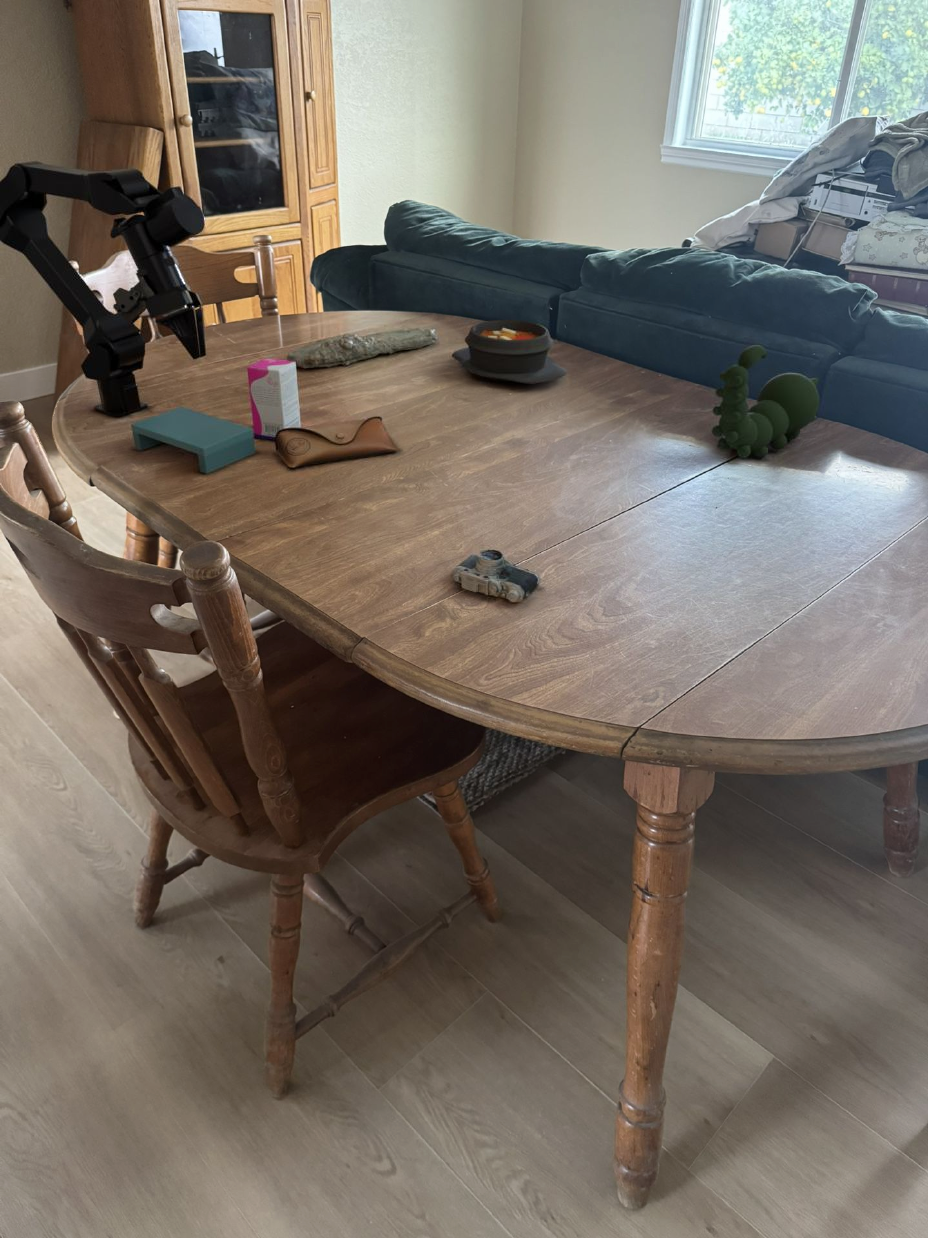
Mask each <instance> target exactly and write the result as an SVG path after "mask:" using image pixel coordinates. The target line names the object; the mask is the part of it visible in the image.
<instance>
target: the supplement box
mask: <svg viewBox="0 0 928 1238" xmlns="http://www.w3.org/2000/svg"><path fill="white" fill-rule="evenodd" d="M246 369H247V370H246V371H247V380H248V381H247V382H248V390H249V401H250V407H251V408H250V409H251V417H252V418H251V419H252V427H253V428H252V429H253V436H254V438H259V439H265V440H272V441H275V436H276V433H277V432H278V431H279V430H281V429H284V428H293V427H296V428H297V427H298V428H302V426H301V425H302V424H301V423H302V422H301V413H300V404H299V403H300V401H299V400H300V399H299V388H298V377H297V375H298V374H297V367H296V362H293V361H287V360H283V359H275V358H266V357H264V358H261V359H260V360H258V361H256V362H255V363H253V364H251V365H249V366H247V368H246Z"/></svg>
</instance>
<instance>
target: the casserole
mask: <svg viewBox="0 0 928 1238" xmlns="http://www.w3.org/2000/svg"><path fill="white" fill-rule="evenodd" d="M464 342H465V344H466V345H467V346H466V347H463V348H461V349H457V350H455V351H454V352H453V353H452V354H451V357H452V358H453V359H454V360H456V361H457V362H458V363H459V364H460V366H461V367H462V369H464V370H466V371H467V372H469V373H471V374H474V375H477V376H480V377H483V378H485V379H489V380H493V381H499V382H515V383H521V384H526V385H527V384H528V385H532V384H533V385H534V384H542V383H547V382H552V381H556V380H558V379H561V378H562V377H565V376H566V375H567V374H568V372H567V370H566V369H565V368H564V367H562V366H560V365H559V364H558V363H556V362H555V361H554V360H553V359H552V358H551V357H550V356H549V352H550V349H551V348H552V347H553V346H554V340H553V339H552V338H551V335H550V332H549V329H548V328H547V327H545V326H543V325H541V324H539V323H535V322H531V321H525V320H516V319H495V320H487V321H482V322H478V323H476V324H474V325H472V326H471V327H470V329H469V332H468V335H466V337H465V338H464Z"/></svg>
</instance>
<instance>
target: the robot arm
mask: <svg viewBox="0 0 928 1238" xmlns="http://www.w3.org/2000/svg"><path fill="white" fill-rule="evenodd" d="M47 195H49V196H55V197H60V198H66V199H72V200H78V201H82V202H85V203H88V204H89V205H90V206H91V207H92V209H94V210H97V211H100V212H102V213H104V214H107V215H110V216H118V215H125V216H129V217H128V218H127V217H125V216H124V217H117V218H113V225H112V227H111V229H110V234H109V236H110V238H111V239H117V238H121V237H122V239H123V241H124V243H125V245H126V247H127V249H128V251H129V253H130V256H131V258H132V260H133V262H134V264H135V267H136V268H137V270H135V271H136V272H135V275H136V277H137V279H138V282H137V283H136V284H135V285H133V286H131V287H130V288H129V290H128V289H125V288H123V287H118V288H117V289H116V290H115V291H114V292H113V294H112V295H113V299H114V301H115V303H114V304H113V305H112V308H113V309H114V310H115V312H116V313H114V312H112V311H110V310H109V309H107V308H106V306H105V305H104V304H103V303H102V302H101V300H100V299H99V298H98V296H97V295H96V294H95V293H94V291H93V290H92V289H91V287H90V286H89V285H88V284H87V282H85V280H84V279H83V278H82V277H81V275H80V273H78V271H77V270H76V269H75V267H74V266H73V265H72V264H71V263H70V261H69V260H68V259H67V258H66V256H65V255H64V253H62V251H61V250H60V249H59V247H58V246H57V245H56V243H55V242H54V241H53V240H52V238H51V236H50V235H49V228H48V221H47V220H48V219H47V218H46V216H45V214H44V213H43V211H44V210H45V208H46V207H47V204H48V197H47ZM141 213H143V214H141ZM205 223H206V220H205V216H204V212H203V210H202V207H200V206H199V205H198V204H197V202H196V201H195V200H194V199H193V198H192V197H191V196H189V195H187V194H185V193H184V191H183V189H182V187H181V186H179V185H178V186H172V187H169V188H168V189H166V190H164V191H163V192H162V191H161V190H159V189H158V188H157V187H156V186H154V185H153V184H152V183H151V182H149V181H148V180H147V179H146V178H145V176H144V174H143V172H142V171H140V170H139V169H137V168H132V167H130V168H120V169H112V170H103V171H91V170H87V169H79V168H73V167H66V166H59V165H54V164H47V163H43V162H41V161H38V160H35V161H26V162H16V163H14V164H12V165H11V166H10V167H9V169H8V171H7V172H6V175H5V176H4V177H3V178H2V179H1V180H0V242H1V243H2V244H4V245H5V246H7V247H9V248H11V249H13V250H15V251H16V252H18V253H21V254H22V255H23V256H24V257H25V258H26V259H27V261H28V262H29V263H30V265H31V266H32V267H33V268H34V269H35V271H36V272H37V273H38V275H39V276H40V278H42V279H43V280H44V282H45V283H46V284H47V286H48V287H49V288H50V289H51V291H52V292H53V293H54V295H56V297H57V298H58V299H59V301H60V302H61V303H62V304H63V306H64V307H65V308H66V310H67V311H68V312H69V313H70V314H71V316H73V318H74V319H75V320H76V322H77V323H78V325H79V326H80V327H81V329H82V336H83V344H84V346H85V348H86V350H87V351H88V354H87V355H86V357H85V359H84V360H83V362H82V363H81V365H80V368H81V370H82V372H83V375H84V377H85V378H86V379H89V380H93V381H96V383H97V389H98V395H99V398H100V399H99V400H100V403H99V404H97V405H95V406H94V405H93V410H95V411H97V412H100V413H104V414H105V415H106V414H107V415H109V416H112V417H115V418H120V417H124V416H127V415H129V414H132V413H135V412H139V411H141V410H144V409H147V408H149V405H148V404H147V403H145V402H142V401H141V400H140V399H141V398H140V393H139V388H138V384H137V381H136V375H135V374H134V373H133V372H136V371H138V370H142V369H143V368H144V359H145V356H146V341H145V338H144V337H143V335H142V334H141V333H142V330H141V329H140V328H139V327H138V326H137V325H136V324H135V323H136V322H137V321H138V320H139V319H140V316H141V315H142V314H143V313H144V312H145V311H147V313H148V315H149V317H150V319H156V320H154V322H155V323H156V324H159V325H161V326H164V327H166V328H169V330H171V331H172V333H173V334H174V335H175V337H176V338H177V340H178V341H179V342H180V343H181V344H182V346H183V348H184V349H185V350H186V352H187V353H188V354H189V356H190V357H191V359H192V360H197V359H199V358H204V357H205V356H207V350H206V349H207V348H206V334H205V319H204V317H205V316H204V308H203V307H202V306H203V305H204V304H203V302H202V301H201V298H200V295H199V294H198V293H196V292H195V291H192V290H191V287H190V285H189V284H187V282H186V280H185V277H184V275H183V274H182V273H183V272H182V271H181V269H180V267H179V266H180V264H179V261H178V259H177V258H176V257H175V256H174V253H173V251H172V248H174V247H176V246H179V245H180V244H182V243H184V242H186V241H188V240H189V239H192V238H193V237H195V236H198V235H199V234H201V233H202V232H203V231H204V229H205V225H206V224H205ZM161 315H162V317H161V318H158V317H159V316H161ZM157 318H158V319H157Z"/></svg>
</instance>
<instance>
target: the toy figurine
mask: <svg viewBox="0 0 928 1238" xmlns="http://www.w3.org/2000/svg"><path fill="white" fill-rule="evenodd" d="M760 358H761V359H766V358H767V351H766V349H765V347H764V346H761V345H759V344H753V345H750V346H748V347H747V348H745V349H744V350H742V352H741V353H740V354H739V356H738V359H737V364H734V365H731V366H729V367H728V368H727V369H726V371H723V372H720V374H719V380H721V381H722V382H724V384H723V386H720V387H717V388H716V390H715V395H716V396H717V397H718V398H721V399H722V401H721V402H720V404H719V405H718V404H717V405H715V406H714V407H713V409H712V413H713V415H715V416H720V418H719V420H718V424H716V425H714V426H712V429H711V434H712V435H713V437H715V438H718V440H717V442H716V446H717V448H718V449H719V450H721V451H725V450H728V449H729V448H732V449H734V450H736V453H737V456H738V457H739V458H744V459H745V458H747V457H749V456H750V455H751V453H753V454H754V456H756V457H757V458H759V459H762V458H765V457H766V456H767V455H768V453H769V448H768V447H767V446H768V445H769V444H770V447H771V448H772V449H774V450H782V449H784V448H785V446H786V445H787V443H788V441H791V440H795V439H797V438H798V437H799V436H800V434H801V430H802V429H803V428H805V427H807V426H808V425H809V424H810V423H812V422H814V421H815V420H816V415H817V414H818V410H819V406H820V396H819V392H818V389H817V385H818V383H819V378H818V377H813V378H808V377H807V376H806V375H803V374H802V373H797V372H785V373H781V374H778V375H776V376H774V377H771V379H769V380H768V381H767V382H765V384H764V385H763V386H762V388H761V389H760V391H759V393H758V396H757V400H756V403H754V404H753V405H752V406H751V407H750V406H749V405H750V404H749V402H748V400H747V399H748V396H749V394H750V393H749V392H750V391H749V386H748V384H747V383H748V381H749V373H748V370H749V369H751V368H752V367H754V365H756V363H757V362H758V361H759V360H760Z"/></svg>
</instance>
